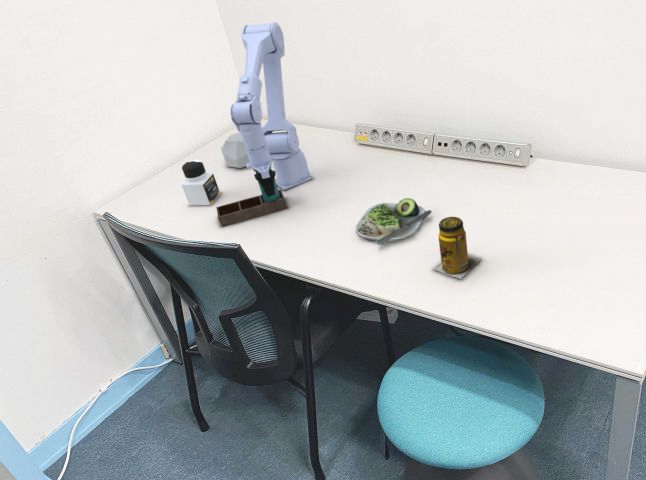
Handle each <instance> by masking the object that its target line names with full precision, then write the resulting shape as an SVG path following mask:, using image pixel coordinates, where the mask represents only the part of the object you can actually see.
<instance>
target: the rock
mask: <svg viewBox="0 0 646 480" xmlns="http://www.w3.org/2000/svg"><path fill="white" fill-rule="evenodd" d="M220 150H221V154H222V156H223V158H224V160H225V163H226V164H227V167H231V168H238V169H241V168H244V167H247V166H246V164H247V163H249V162H250V161H249V158H248V155H247V152H246V148H245V145H244V142H243V139H242V136H241V132H236V133H231V134H230V135H229V136H228V137H227V138H226V139H225V141H224V143H223V144H222V145H221V147H220Z"/></svg>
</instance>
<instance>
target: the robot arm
mask: <svg viewBox="0 0 646 480" xmlns="http://www.w3.org/2000/svg"><path fill="white" fill-rule="evenodd" d="M284 37H285V36H284V32H283V30H282V28H281V26H280V24H279V23H278V22H276V21H274V22H270V23H261V24H260V23H259V24H250V25H249V24H245V25H243V27H242V29H241V40H242V44H243V47H244V49H245V51H246V53H245V69H244V74H243V75H241V76H240V78H239V83H238V89H237V93H236V100H235V102H234V103H233V104H231V106H230V119H231V122H232V124H234V126H235V128H236V130H237V131H238V133H240V132H241V136H242V139H243V142H244V145H245V148H246V152H247V155H248V158H249V161H250V162H249V163H247V164H246V166H245V167H246V169H252V170H253V171H254V174H253V176H254V179H255V180H256V181H257V183H258V182H259V183H260V184H261V186H262V187H263V189H264V191H265V193H266V195H267V196H268V197H269V196H272V195H275V187H274V179H275V181H276V184H277V187H279V188H280V189H281V190H283V191H285V190H288V189H291V188H293V187H296V186H298V185H300V184H303V183H306V182H308V181H310V180H312V177H311V174H310V169H309V166H308V162H307V158H306V156H305V154H304V152H303V150H302V149H301V148H300V141H299V137H298V133H297V128H296V126H295V125H294V124H292V123H291V122H290V121H288V120H287V118H286V106H285V97H284V96H285V95H284V85H283V84H284V83H283V72H282V71H283V70H282V58H283V57H284V56H285V55H286V53H285V49H286V48H285V38H284ZM262 67H263V68H262ZM262 69H263V78H264V79H263V80H264V88H265V99H266V101H265V102H266V111H267V122H266V123H265V124H264V125H263V126H262V123H261V122H262V118H263V111H262V103H261V101H260V100H261V94H262V88H263V82H262V80H261V78H260V74H261V70H262ZM272 165H273V170H272V171H270V172H269V169H272ZM257 172H259V173H258V174H256V173H257ZM259 183H258V184H259Z"/></svg>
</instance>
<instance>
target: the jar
mask: <svg viewBox="0 0 646 480" xmlns="http://www.w3.org/2000/svg"><path fill="white" fill-rule="evenodd" d="M270 171H273V169H272V168H271V169H269V172H270ZM258 173H259V172H257V173H256V172H255V174H258ZM275 179H276V178H275ZM275 179H274V187H275V195H272V196H269V197H268V196H267V195H266V193H265V191H264V189H263V187H262V186H261V184H260V183H259V182H258V181H257V184H258V186H259V190H260V194H261V195H262V196H263V199H264V201H265V202H273V201H276V200H278V199H279V198H280V195H279V191H278V190H279V188H278V185H277V184H276V181H275Z"/></svg>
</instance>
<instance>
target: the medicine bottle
mask: <svg viewBox="0 0 646 480" xmlns="http://www.w3.org/2000/svg"><path fill="white" fill-rule="evenodd" d="M181 170H182V172H183V175H184V178H185V180H184V181H183V182H182V183H181V187H182V190H183V192H184V196H185V198H186V201H187V203H188V205H189V206H190V207H191V206H192V207H193V206H212V204H213V203H214V202H215V201H216V200H217V198H218V197H219V196H220V194H221V191H220V188H219V186H218V183H217V180H216V177H215V175H214V172H207V170H206V168H205V165H204V162H203V161H202V160H199V159H192V160H189V161H186V162H185V163H183V164H182V165H181Z"/></svg>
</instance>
